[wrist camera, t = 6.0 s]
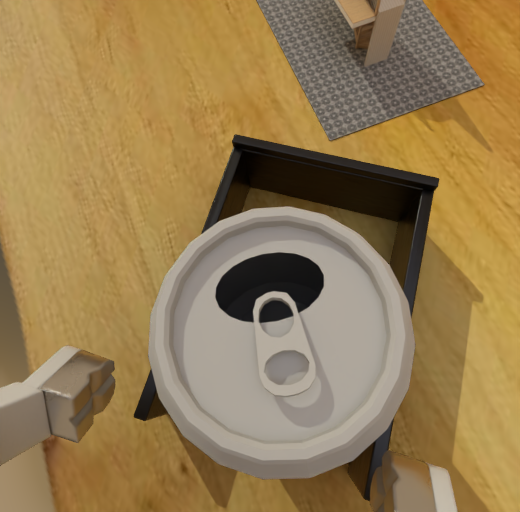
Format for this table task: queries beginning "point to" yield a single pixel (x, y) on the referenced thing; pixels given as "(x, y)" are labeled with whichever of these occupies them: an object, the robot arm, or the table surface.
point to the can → (281, 343)
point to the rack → (335, 194)
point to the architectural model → (367, 58)
